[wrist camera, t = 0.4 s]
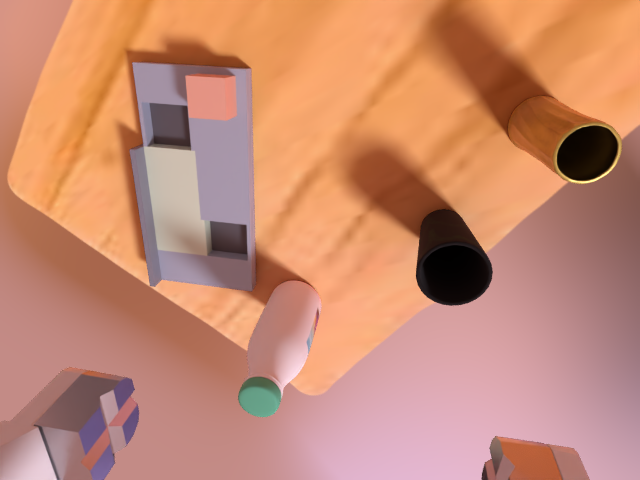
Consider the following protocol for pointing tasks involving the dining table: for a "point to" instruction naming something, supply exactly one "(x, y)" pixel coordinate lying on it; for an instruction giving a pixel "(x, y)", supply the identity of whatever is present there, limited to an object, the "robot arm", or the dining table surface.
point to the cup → (451, 260)
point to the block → (211, 96)
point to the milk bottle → (279, 346)
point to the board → (194, 181)
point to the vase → (565, 139)
